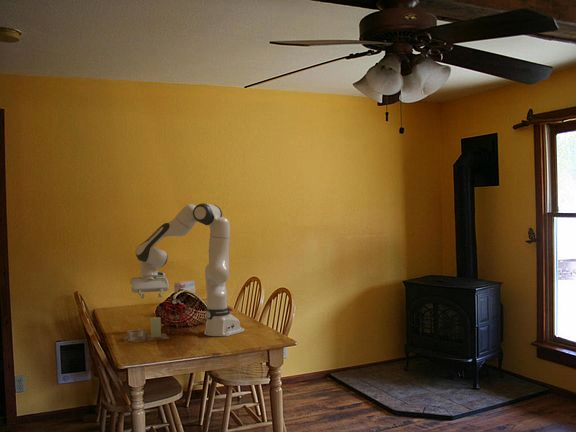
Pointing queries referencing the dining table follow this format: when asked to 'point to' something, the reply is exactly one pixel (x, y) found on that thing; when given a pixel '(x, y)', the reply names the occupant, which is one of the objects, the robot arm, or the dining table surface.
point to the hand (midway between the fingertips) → (151, 297)
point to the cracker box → (185, 286)
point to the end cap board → (141, 336)
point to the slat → (155, 327)
